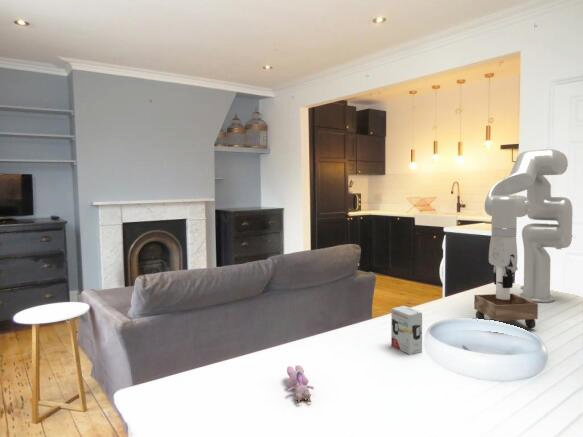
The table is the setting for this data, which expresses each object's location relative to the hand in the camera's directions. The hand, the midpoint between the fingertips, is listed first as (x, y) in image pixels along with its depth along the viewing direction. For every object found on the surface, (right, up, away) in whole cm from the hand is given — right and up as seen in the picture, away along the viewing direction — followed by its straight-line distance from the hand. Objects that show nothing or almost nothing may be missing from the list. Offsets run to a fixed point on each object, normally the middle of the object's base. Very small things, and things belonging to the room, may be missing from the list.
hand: (503, 285), depth 144 cm
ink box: (-38, -16, -19) cm, 46 cm away
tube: (0, -5, 0) cm, 5 cm away
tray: (0, -14, 0) cm, 14 cm away
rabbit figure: (-71, -18, -43) cm, 85 cm away
